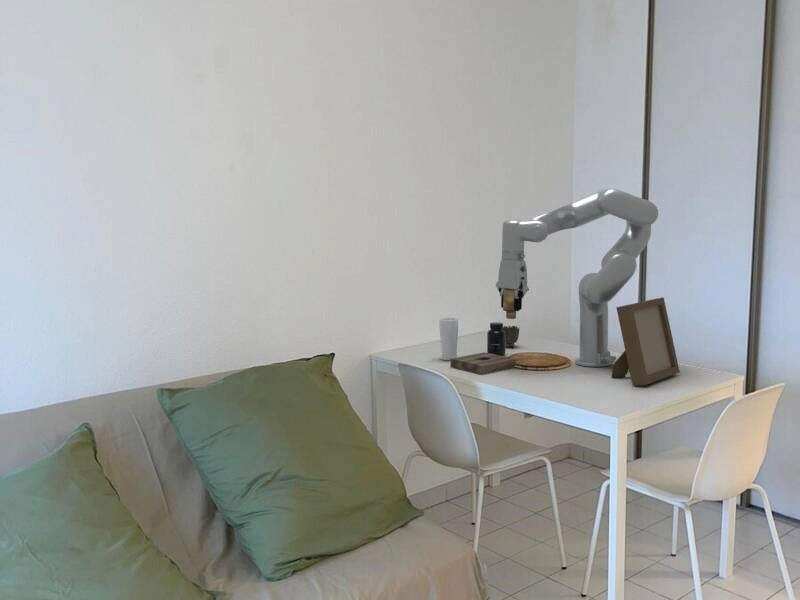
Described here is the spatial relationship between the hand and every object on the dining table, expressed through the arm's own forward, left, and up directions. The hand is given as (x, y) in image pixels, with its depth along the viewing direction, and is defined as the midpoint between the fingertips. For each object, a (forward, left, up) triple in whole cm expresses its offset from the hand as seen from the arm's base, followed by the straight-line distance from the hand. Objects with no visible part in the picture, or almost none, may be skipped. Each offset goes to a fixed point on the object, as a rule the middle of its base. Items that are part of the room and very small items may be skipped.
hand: (511, 308), depth 263 cm
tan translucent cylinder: (0, 0, -4) cm, 4 cm away
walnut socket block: (+5, +9, -20) cm, 23 cm away
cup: (+24, -23, -20) cm, 39 cm away
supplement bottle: (+17, -9, -20) cm, 28 cm away
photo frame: (-41, -17, -20) cm, 49 cm away
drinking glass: (+23, +9, -20) cm, 32 cm away
